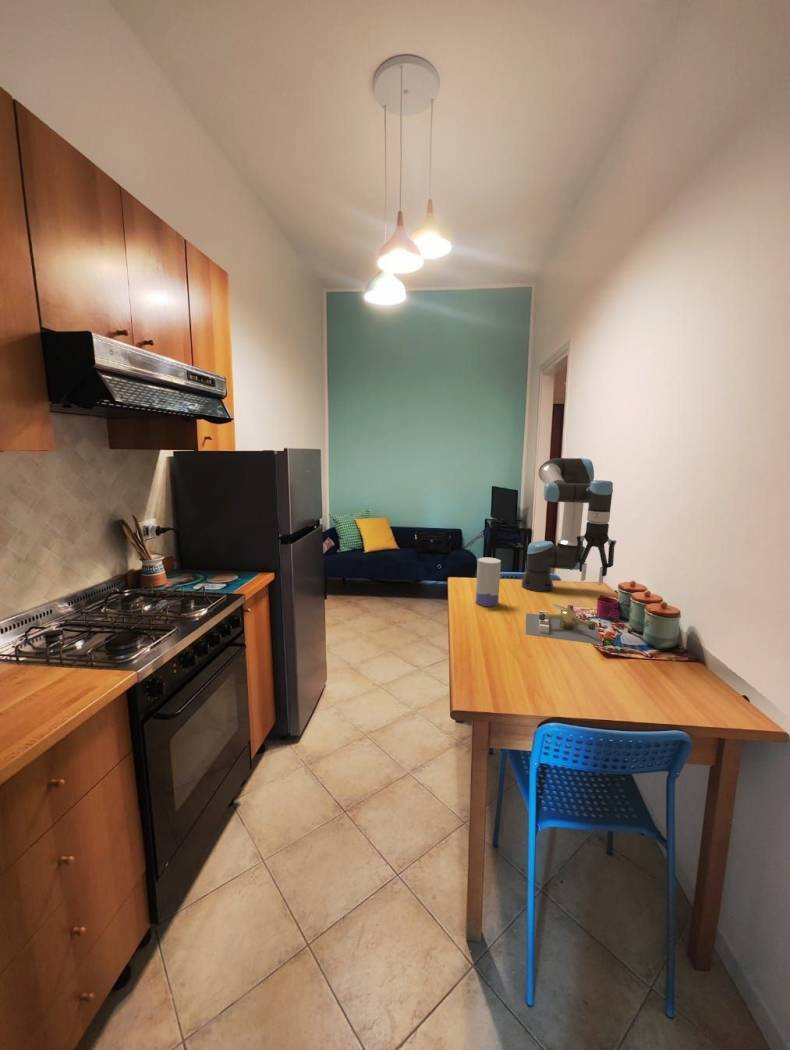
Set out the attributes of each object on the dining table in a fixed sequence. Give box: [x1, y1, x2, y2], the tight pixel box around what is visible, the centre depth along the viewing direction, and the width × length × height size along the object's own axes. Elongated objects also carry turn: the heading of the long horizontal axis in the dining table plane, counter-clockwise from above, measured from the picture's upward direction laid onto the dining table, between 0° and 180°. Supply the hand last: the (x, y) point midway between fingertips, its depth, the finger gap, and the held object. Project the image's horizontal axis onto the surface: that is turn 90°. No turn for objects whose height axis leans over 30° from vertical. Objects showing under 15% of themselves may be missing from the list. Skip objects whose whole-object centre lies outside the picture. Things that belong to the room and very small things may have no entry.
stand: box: [525, 610, 604, 646], centre depth 163 cm, size 22×26×4 cm
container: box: [475, 556, 502, 608], centre depth 190 cm, size 10×10×20 cm
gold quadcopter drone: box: [538, 603, 596, 630], centre depth 161 cm, size 20×18×7 cm
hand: (591, 582), depth 162 cm, fingers open, 6 cm apart
